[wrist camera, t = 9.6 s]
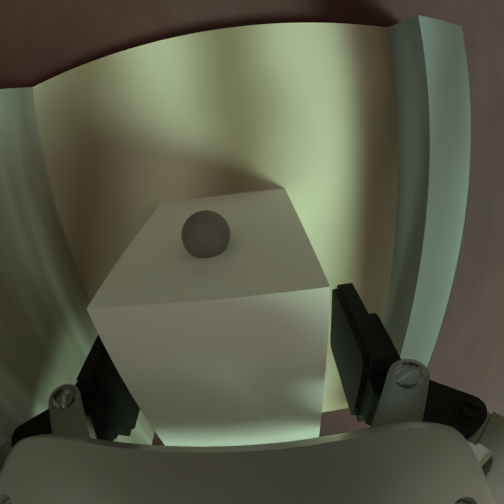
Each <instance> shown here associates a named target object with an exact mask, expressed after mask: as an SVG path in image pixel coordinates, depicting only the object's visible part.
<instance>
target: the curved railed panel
mask: <svg viewBox="0 0 504 504" xmlns="http://www.w3.org/2000/svg"><path fill="white" fill-rule="evenodd" d="M470 149H471V111H470V90H469V77H468V67H467V58H466V50H465V43H464V37H463V31H462V26H459V25H456V24H452V23H449V22H445V21H441V20H437V19H433V18H429V17H425V16H420V15H417V16H414V17H412V18H409V19H407V20H404V21H402V22H400V23H397V24H395V25H393V26H390V27H388V28H387V27H379V26H370V25H359V24H344V23H275V24H260V25H249V26H239V27H231V28H223V29H216V30H210V31H204V32H198V33H193V34H188V35H183V36H178V37H173V38H169V39H164V40H160V41H156V42H152V43H149V44H145V45H141V46H138V47H134V48H131V49H127V50H124V51H121V52H118V53H115V54H112V55H109V56H106V57H103V58H100V59H97V60H94V61H92V62H89V63H86V64H84V65H81V66H79V67H76V68H74V69H71V70H69V71H67V72H64V73H62V74H60V75H57V76H55V77H53V78H51V79H49V80H46V81H44V82H42V83H40V84H38V85H36V86H34V87H25V88H8V89H0V448H1V446H2V445H3V444H4V443H6V442H7V441H9V442H10V443H11V439H12V435H13V432H14V431H15V429H16V428H17V427H18V426H20V425H21V424H23V423H25V422H26V421H28V420H30V419H32V418H33V417H35V416H37V415H38V414H40V413H42V412H44V411H45V410H47V409H49V405H48V402H49V397H50V395H51V394H52V392H53V391H54V390H55V389H56V388H58V387H59V386H61V385H65V384H72V385H76V382H77V380H76V379H77V377H78V375H79V373H80V371H81V368H82V366H83V364H84V362H85V360H86V358H87V356H88V354H89V352H90V350H91V348H92V346H93V344H94V342H95V340H96V338H97V336H98V332H97V330H96V328H95V326H94V324H93V322H92V320H91V317H90V315H89V313H88V311H87V307H88V305H89V304H90V302H91V301H92V299H93V298H94V296H95V294H96V293H97V291H98V290H99V288H100V287H101V285H102V284H103V282H104V281H105V279H106V278H107V276H108V275H109V273H110V272H111V270H112V269H113V268H114V266H115V265H116V263H117V262H118V260H119V259H120V257H121V256H122V255H123V253H124V252H125V250H126V249H127V248H128V246H129V245H130V243H131V242H132V241H133V239H134V238H135V237H136V235H137V234H138V233H139V231H140V230H141V228H142V227H143V226H144V224H145V223H146V222H147V221H148V219H149V218H150V217H151V215H152V214H153V213H154V211H155V210H156V209H157V207H158V206H159V205H160V204H163V203H169V202H176V201H183V200H190V199H197V198H204V197H212V196H219V195H227V194H235V193H244V192H253V191H262V190H271V189H281V188H285V190H286V192H287V194H288V196H289V198H290V200H291V202H292V204H293V206H294V208H295V210H296V212H297V215H298V217H299V219H300V221H301V223H302V225H303V227H304V230H305V232H306V234H307V236H308V238H309V240H310V243H311V245H312V247H313V249H314V251H315V254H316V256H317V258H318V260H319V262H320V265H321V267H322V269H323V272H324V274H325V276H326V278H327V281H328V283H329V285H330V305H329V327H328V345H327V360H326V373H325V384H324V395H323V405H322V412H328V411H333V410H339V409H344V408H349V407H348V403H347V400H346V396H345V393H344V390H343V386H342V383H341V379H340V376H339V373H338V370H337V366H336V363H335V360H334V357H333V353H332V350H331V345H330V334H331V311H332V290H333V289H337V285H339V284H346V283H352V284H353V285H354V287H355V289H356V291H357V293H358V294H359V296H360V298H361V300H362V302H363V304H364V306H365V308H366V310H367V311H368V313H369V314H371V313H376V314H377V315H378V316H379V318H380V320H381V322H382V324H383V325H384V327H385V329H386V331H387V333H388V335H389V337H390V339H391V340H392V342H393V344H394V346H395V348H396V350H397V352H398V354H399V356H400V358H401V360H402V359H413V360H416V361H419V362H421V363H422V364H424V365H425V366H426V368H427V365H428V363H429V360H430V357H431V354H432V351H433V349H434V346H435V343H436V340H437V337H438V333H439V330H440V327H441V324H442V320H443V317H444V314H445V310H446V306H447V303H448V299H449V295H450V291H451V287H452V283H453V279H454V274H455V270H456V265H457V260H458V255H459V250H460V244H461V239H462V233H463V226H464V219H465V212H466V204H467V194H468V184H469V170H470ZM153 436H154V429H153V428H152V426H151V425H150V423H149V422H148V420H147V419H146V417H145V416H144V414H143V412H142V411H141V409H140V411H139V415H138V419H137V423H136V426H135V428H134V429H132V430H131V434H130V436H122V435H118V437H117V438H116V439H117V442H124V443H134V444H146V445H152V441H153Z"/></svg>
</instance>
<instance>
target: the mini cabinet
mask: <svg viewBox="0 0 504 504" xmlns="http://www.w3.org/2000/svg"><path fill="white" fill-rule="evenodd" d="M329 305H330V285H329V283H328V281H327V278H326V276H325V274H324V272H323V269H322V267H321V265H320V262H319V260H318V258H317V256H316V254H315V251H314V249H313V247H312V245H311V243H310V240H309V238H308V236H307V234H306V232H305V230H304V227H303V225H302V223H301V221H300V219H299V217H298V215H297V212H296V210H295V208H294V206H293V204H292V202H291V200H290V198H289V196H288V194H287V192H286V190H285V188H281V189H271V190H262V191H253V192H244V193H235V194H227V195H219V196H212V197H204V198H197V199H190V200H183V201H176V202H169V203H163V204H160V205H159V206H158V207H157V209H156V210H155V211H154V213H153V214H152V215H151V217H150V218H149V219H148V221H147V222H146V223H145V224H144V226H143V227H142V228H141V230H140V231H139V233H138V234H137V235H136V237H135V238H134V239H133V241H132V242H131V243H130V245H129V246H128V248H127V249H126V250H125V252H124V253H123V255H122V256H121V257H120V259H119V260H118V262H117V263H116V265H115V266H114V268H113V269H112V270H111V272H110V273H109V275H108V276H107V278H106V279H105V281H104V282H103V284H102V285H101V287H100V288H99V290H98V291H97V293H96V294H95V296H94V298H93V299H92V301H91V302H90V304H89V305H88V307H87V311H88V313H89V315H90V317H91V320H92V322H93V324H94V326H95V328H96V330H97V332H98V334H99V336H100V338H101V340H102V342H103V344H104V346H105V348H106V350H107V352H108V354H109V356H110V358H111V360H112V361H113V363H114V365H115V367H116V369H117V371H118V372H119V374H120V376H121V378H122V379H123V381H124V383H125V385H126V386H127V388H128V390H129V391H130V393H131V395H132V396H133V398H134V400H135V401H136V403H137V405H138V406H139V408H140V409H141V411H142V412H143V414H144V416H145V417H146V419H147V420H148V422H149V423H150V425H151V426H152V428H153V429H154V431H155V432H156V433H157V435H158V436H159V438H160V439H161V441H162V442H163V443H164V445H165V446H194V447H208V446H240V445H256V444H268V443H279V442H288V441H296V440H304V439H311V438H317V437H319V432H320V424H321V415H322V405H323V395H324V384H325V373H326V360H327V345H328V327H329Z"/></svg>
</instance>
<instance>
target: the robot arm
mask: <svg viewBox="0 0 504 504" xmlns="http://www.w3.org/2000/svg"><path fill="white" fill-rule="evenodd" d="M330 345H331V350H332V353H333V357H334V360H335V363H336V366H337V370H338V373H339V376H340V379H341V383H342V386H343V390H344V393H345V396H346V400H347V403H348V407H349V410H350V413H351V415H356V417H357V421H358V422H361V421H365V423H366V424H368V425H371V427H370V428H367V429H362V430H357V431H352V432H347V433H341V434H336V435H330V436H323V437H317V438H311V439H304V440H296V441H288V442H279V443H268V444H256V445H240V446H208V447H194V446H162V445H146V444H134V443H124V442H117V439H116V438H117V437H118V435H122V436H130V434H131V430H132V429H134V428H135V426H136V423H137V419H138V415H139V411H140V408H139V406H138V405H137V403H136V401H135V400H134V398H133V396H132V395H131V393H130V391H129V390H128V388H127V386H126V385H125V383H124V381H123V379H122V378H121V376H120V374H119V372H118V371H117V369H116V367H115V365H114V363H113V361H112V360H111V358H110V356H109V354H108V352H107V350H106V348H105V346H104V344H103V342H102V340H101V338H100V336H99V334H98V336H97V338H96V340H95V342H94V344H93V346H92V348H91V350H90V352H89V354H88V356H87V358H86V360H85V362H84V364H83V366H82V368H81V371H80V373H79V375H78V377H77V379H76V380H77V382H76V385H72V384H65V385H61V386H59V387H58V388H56V389H55V390H54V391H53V392H52V394H51V395H50V397H49V402H48V405H49V409H47V410H45V411H44V412H42V413H40V414H38V415H37V416H35V417H33V418H32V419H30V420H28V421H26V422H25V423H23V424H21V425H20V426H18V427H17V428H16V429H15V431H14V432H13V435H12V439H11V443H10V442H9V441H7V442H6V443H4V444H3V445H2V446H1V448H0V504H504V416H502V415H500V414H498V413H496V412H493V413H492V414H490V413H488V412H487V409H486V406H485V404H484V402H482V401H481V400H480V399H479V398H477V397H475V396H473V395H470V394H467V393H464V392H462V391H459V390H456V389H453V388H450V387H448V386H445V385H442V384H440V383H437V382H434V381H431V380H430V374H429V371H428V369H427V368H426V366H425V365H424V364H422V363H421V362H419V361H416V360H413V359H402V360H401V358H400V356H399V354H398V352H397V350H396V348H395V346H394V344H393V342H392V340H391V339H390V337H389V335H388V333H387V331H386V329H385V327H384V325H383V324H382V322H381V320H380V318H379V316H378V315H377V314H376V313H371V314H369V313H368V311H367V310H366V308H365V306H364V304H363V302H362V300H361V298H360V296H359V294H358V293H357V291H356V289H355V287H354V285H353V284H352V283H346V284H339V285H337V289H333V290H332V311H331V334H330Z"/></svg>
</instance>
